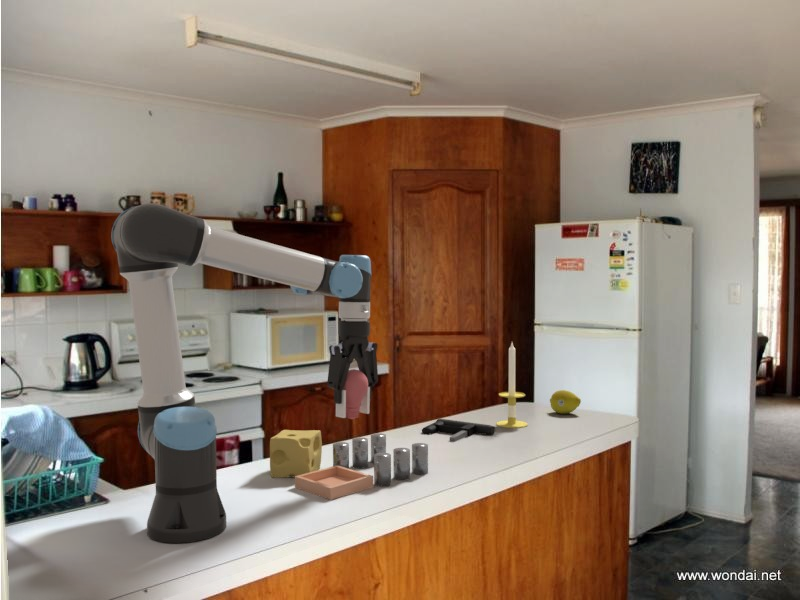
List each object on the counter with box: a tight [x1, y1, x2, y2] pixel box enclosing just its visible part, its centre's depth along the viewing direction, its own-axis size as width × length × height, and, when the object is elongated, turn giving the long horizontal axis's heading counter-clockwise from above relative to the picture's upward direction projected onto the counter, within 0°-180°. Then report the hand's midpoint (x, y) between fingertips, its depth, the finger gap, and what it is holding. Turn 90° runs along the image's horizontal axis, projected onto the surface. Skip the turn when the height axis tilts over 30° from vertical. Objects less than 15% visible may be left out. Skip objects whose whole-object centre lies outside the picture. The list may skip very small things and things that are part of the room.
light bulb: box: [343, 369, 368, 420], centre depth 180 cm, size 7×7×12 cm
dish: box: [294, 465, 374, 501], centre depth 175 cm, size 13×13×3 cm
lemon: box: [549, 389, 582, 415], centre depth 256 cm, size 11×8×8 cm
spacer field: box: [332, 432, 429, 488], centre depth 187 cm, size 17×19×7 cm
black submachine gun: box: [421, 418, 496, 443], centre depth 227 cm, size 3×20×16 cm
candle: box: [495, 342, 528, 429], centre depth 239 cm, size 10×10×27 cm
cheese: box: [269, 429, 323, 479], centre depth 187 cm, size 10×11×10 cm
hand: (352, 414), depth 180 cm, fingers closed on light bulb, 7 cm apart
